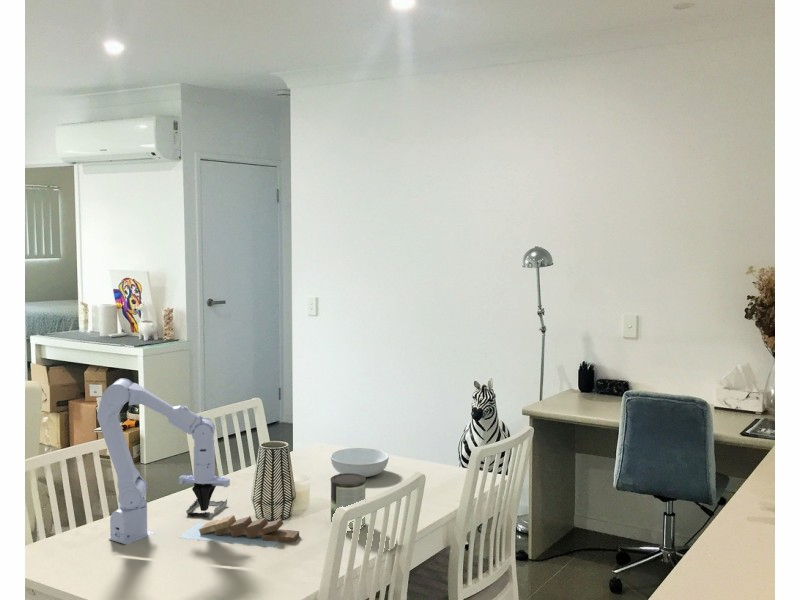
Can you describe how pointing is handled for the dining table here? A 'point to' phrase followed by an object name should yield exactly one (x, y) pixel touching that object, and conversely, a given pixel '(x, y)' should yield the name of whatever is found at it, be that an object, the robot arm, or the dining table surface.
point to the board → (225, 537)
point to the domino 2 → (251, 527)
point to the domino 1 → (235, 526)
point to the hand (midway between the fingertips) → (204, 509)
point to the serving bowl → (359, 461)
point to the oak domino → (217, 524)
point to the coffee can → (347, 492)
